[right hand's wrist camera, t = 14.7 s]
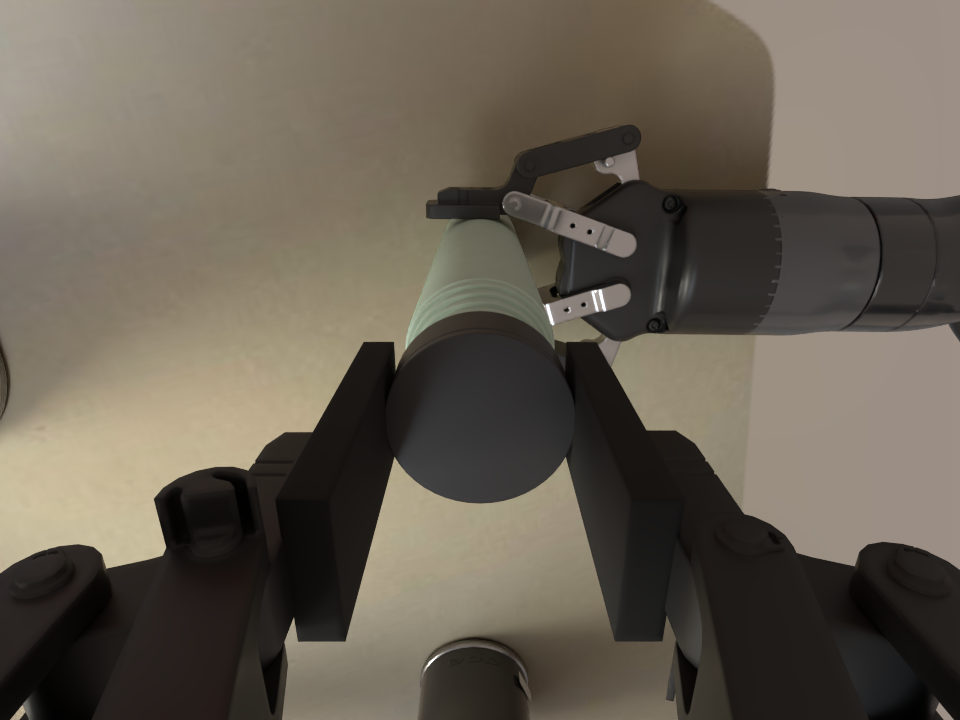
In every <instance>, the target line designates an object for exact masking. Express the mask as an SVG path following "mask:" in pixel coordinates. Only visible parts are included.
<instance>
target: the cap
mask: <svg viewBox="0 0 960 720" xmlns="http://www.w3.org/2000/svg"><path fill="white" fill-rule="evenodd" d="M385 412H386V427H387V439H388V443H389V446H390V448H391V450H392V452H393V455H394V456H395V458H396V459H397V461H398V463H399V464H400V465H401V467H402V468H403V469H404V470H405V471H406V473H407V474H408V475H409V476H411V477H412V478H413V479H414V480H415V481H416V482H418V483H419V484H420V485H422V486H423V487H424V488H426V489H428V490H430V491H432V492H434V493H435V494H438V495H440V496H443V497H445V498H449V499H452V500H456V501H461V502H467V503H493V502H499V501H504V500H508V499H512V498H515V497H517V496H520V495H522V494H525V493H527V492H529V491H530V490H532V489H534V488H536V487H537V486H539V485H540V484H541V483H543V482H544V481H545V480H547V479H548V478H549V477H550V476H551V475H552V474H553V473H554V472H555V471H556V469H557V468H558V467H559V466H560V465H561V463H562V462H563V460H564V458H565V457H566V455H567V453H568V451H569V449H570V447H571V444H572V441H573V432H574V418H575V401H574V398H573V395H572V391H571V388H570V386H569V383H568V380H567V377H566V374H565V372H564V369H563V366H562V363H561V361H560V359H559V357H558V355H557V353H556V351H555V350H554V348H553V347H552V345H551V344H550V343H549V342H548V341H547V339H546V338H545V337H544V336H543V335H542V334H540V333H539V332H538V331H537V330H536V329H535V328H533V327H531V326H530V325H528V324H527V323H525V322H523V321H521V320H519V319H517V318H515V317H512V316H509V315H506V314H502V313H496V312H489V311H471V312H464V313H459V314H455V315H452V316H449V317H446V318H443V319H441V320H439V321H437V322H435V323H433V324H432V325H430V326H429V327H427V328H426V329H424V330H423V331H422V332H421V333H420V334H419V335H418V336H416V338H415V339H414V340H413V341H412V342H411V343H410V344H409V346H408V347H407V349H406V350H405V352H404V353H403V355H402V358H401V360H400V362H399V364H398V367H397V370H396V372H395V375H394V378H393V381H392V384H391V386H390V389H389V392H388V396H387V399H386V404H385Z"/></svg>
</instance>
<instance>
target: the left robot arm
mask: <svg viewBox="0 0 960 720" xmlns="http://www.w3.org/2000/svg"><path fill="white" fill-rule="evenodd" d="M640 141H641V134H640V131H639V129H638V128H637V127H635V126H633V125H620V126H613V127H610V128H606V129H602V130H599V131H595V132H592V133H588V134H584V135H581V136H577V137H573V138H570V139H566V140H563V141H559V142H555V143H552V144H548V145H544V146H541V147H537V148H534V149H530V150H526V151H523V152H521V153H519V154H518V155H517V156H516V158H515V161H514V165H513V168H512V170H511V173H510V175H509V178H508V180H507V181H506V182H505V184H503V185H502V186H500V187H495V188H488V187H448V188H445V189H443V190H440V191H439V192H438V200H429V201H427V203H426V218H430V219H486V220H500V215H510V216H512V217H515V218H518V219H521V220H523V221H526V222H529V223H532V224H535V225H537V226H540V227H542V228H544V229H546V230H549V231H551V232H554V233H556V234H559V236H558V246H559V251H560V256H561V259H560V262H559V265H558V268H557V271H556V283H554V284H550V285H547V286H544V287H541V288H538V292H539V295H540V297H541V300H542V303H543V305H544V308H545V311H546V313H547V316H548V319H549V321H550V324H551V326H552V325H556V324H559V323H563V322H566V321H569V320H573V319H576V318H579V317H580V318H582V319H583V320H584V321H586V322H587V323H588V324H590V325H591V326H592V327H594V328H595V329H596V330H598V331H599V332H600V333H602V334H601V336H600V337H598V338H596V339H593V340H590V339H584V340H581V341H580V342H597V344H598V345H599V347H600V349H601V351H602V353H603V354H604V356H605V358H606V360H607V361H608V363H609V365H610V367H611V366H612V363H613V361H614V358H615V356H616V354H617V351H618V349H619V346H620V344H621V342H622V341H627V340H630V339H632V338H634V337H636V336H638V335H641V334H645V333H657V334H713V335H796V334H806V333H813V332H823V331H853V332H895V331H910V330H919V329H925V328H931V327H936V326H941V325H946V324H949V326H950V328H951V330H952V331H953V332H954V334H955V335H956V337H957V338H958V340H959V341H960V195H959V196H953V197H947V198H940V199H914V198H891V197H840V196H832V195H826V194H820V193H814V192H803V191H781V190H776V189H761V190H759V191H749V190H673V189H658V188H655V187H654V186H652V185H650V184H649V183H647V182H645V181H643V180H640V176H639V169H638V163H637V156H636V148H637V147H638V146H639V144H640ZM587 163H591V165H592V167H593V169H594V170H595V171H597V172H599V173H602V174H613V175H614V176H615V177H616V179H617V181H618V183H616V184H615V185H613V186H612V187H611V188H609V189H608V190H606V191H605V192H603V193H602V194H601V195H599V196H598V197H596V198H595V199H593V200H592V201H590V202H589V203H588V204H586V205H585V206H583V207H582V208H580V209H579V210H577V209H574V208H572V207H569V206H566V205H563V204H561V203H558V202H555V201H552V200H550V199H546V198H543V197H540V196H537V195H535V194H532V193H531V191H532V189H533V186H534V184H535V181H536V179H537V177H539V176H543V175H546V174H550V173H554V172H558V171H561V170H565V169H569V168H572V167H576V166H580V165H583V164H587ZM558 293H559V295H557V294H558ZM565 308H567V309H565ZM554 343H555V351H556V353H557V355H558V357H559V359H560V361H561V363H562V366H563V369H564V372H565V358H566V343H564V342H561V341H557V340H554ZM420 686H421V693H420V702H419V711H418V719H417V720H530V712H529V700H528V698H529V699H530V701H531V692H530V690H529V688H528V676H527V670H526V667H525V665H524V663H523V661H522V660H521V659H520V658H519V656H518V655H517V654H515V653H514V652H513V651H512V650H510V649H509V648H507V647H505V646H503V645H501V644H498V643H495V642H491V641H486V640H462V641H457V642H453V643H451V644H448V645H446V646H444V647H442V648H440V649H438V650H437V651H435V652H434V653H433V654H432V655H431V656H430V657H429V658H428V659H427V661H426V662H425V664H424V666H423V669H422V673H421V682H420ZM531 703H532V701H531Z"/></svg>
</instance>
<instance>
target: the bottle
mask: <svg viewBox="0 0 960 720" xmlns="http://www.w3.org/2000/svg"><path fill="white" fill-rule="evenodd" d="M471 311H489V312H496V313H502V314H506V315H509V316H512V317H515V318H517V319H519V320H521V321H523V322H525V323H527V324H528V325H530V326H531V327H533V328H535V329H536V330H537V331H538V332H539V333H540V334H542V335H543V336H544V337H545V338H546V339H547V341H548V342H549V343H550V344H551V345H552V347H553V348H554V350H555V343H554V335H553V330H552V327H551V324H550V321H549V319H548V316H547V313H546V311H545V308H544V305H543V303H542V300H541V297H540V295H539V292H538V289H537V287H536V284H535V281H534V279H533V276H532V273H531V271H530V268H529V265H528V263H527V260H526V257H525V255H524V252H523V249H522V247H521V244H520V241H519V239H518V236H517V233H516V231H515V228H514V225H513V223H512V221H511V220H510V218H509V217H508V216H507V215H500V220H486V219H450V220H449V222H448V224H447V226H446V228H445V231H444V234H443V236H442V239H441V242H440V244H439V247H438V250H437V252H436V255H435V258H434V260H433V263H432V266H431V268H430V271H429V274H428V276H427V279H426V282H425V284H424V287H423V290H422V293H421V295H420V298H419V301H418V303H417V306H416V309H415V311H414V314H413V317H412V319H411V322H410V325H409V328H408V332H407V336H406V349H407V347H408V346H409V344H410V343H411V342H412V341H413V340H414V339H415V338H416V336H418V335H419V334H420V333H421V332H422V331H423V330H424V329H426V328H427V327H429V326H430V325H432V324H433V323H435V322H437V321H439V320H441V319H443V318H446V317H449V316H452V315H455V314H459V313H464V312H471Z"/></svg>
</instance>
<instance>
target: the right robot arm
mask: <svg viewBox="0 0 960 720" xmlns="http://www.w3.org/2000/svg"><path fill="white" fill-rule="evenodd" d="M395 372H396V368H395V352H394V342H364V343H363V344H362V346H361V348H360V350H359V351H358V353H357V355H356V357H355V359H354V360H353V362H352V364H351V366H350V367H349V369H348V371H347V373H346V374H345V376H344V378H343V380H342V382H341V383H340V385H339V387H338V389H337V390H336V392H335V394H334V396H333V398H332V399H331V401H330V403H329V405H328V406H327V408H326V410H325V412H324V414H323V415H322V417H321V419H320V421H319V422H318V424H317V426H316V428H315V429H314V431H313V432H285V433H283V434H282V435H280V436H279V437H278V438H276V439H275V440H273V441H272V442H270V443H269V444H267V445H266V446H265V447H264V449H263V450H262V452H261V453H260V455H259V456H258V458H257V459H256V460H255V464H253V465H252V466H251V468H250V469H249V471H247V470H244V469H240V468H236V467H214V468H209V469H204V470H199V471H195V472H193V473H190V474H188V475H185V476H183V477H180V478H178V479H176V480H175V481H173V482H172V483H170V484H169V485H167V486H165V487H164V488H163V489H162V490H161V491H160V492H159V493H158V495H157V496H156V497H155V498H154V502H155V505H156V509H157V513H158V517H159V521H160V525H161V528H162V532H163V536H164V540H165V544H166V550H165V552H164V554H163V556H160V557H157V558H153V559H150V560H145V561H140V562H136V563H131V564H126V565H122V566H117V567H112V568H108V569H106V566H105V563H104V560H103V557H102V554H101V553H100V552H99V551H97V550H96V549H95V548H94V547H90V546H85V545H79V544H77V545H68V546H58V547H55V548H51V549H48V550H43V551H41V552H38V553H35V554H33V555H31V556H29V557H27V558H25V559H23V560H21V561H19V562H17V563H15V564H13V565H12V566H10V567H9V568H7V569H6V570H5V571H3V572H2V573H0V720H10V719H11V718H12V717H13V715H14V714H15V713H16V712H17V711H18V709H19V708H20V707H21V706H22V705H23V707H24V709H25V712H26V713H25V714H24V715H23V716H22V717H21V719H20V720H282V714H283V705H284V696H285V686H286V677H287V668H288V662H287V655H286V649H285V643H284V641H285V638H286V636H287V633H288V631H289V628H290V625H291V623H292V620H293V618H294V619H295V625H296V632H297V638H298V641H346V637H347V633H348V629H349V626H350V622H351V618H352V614H353V611H354V607H355V603H356V599H357V596H358V592H359V588H360V584H361V580H362V577H363V573H364V569H365V565H366V562H367V558H368V554H369V550H370V547H371V543H372V539H373V535H374V532H375V528H376V524H377V520H378V517H379V513H380V509H381V505H382V502H383V498H384V494H385V490H386V487H387V483H388V479H389V475H390V472H391V468H392V464H393V460H394V457H395V456H394V455H393V452H392V450H391V448H390V446H389V443H388V439H387V427H386V412H385V404H386V399H387V396H388V392H389V389H390V386H391V384H392V381H393V378H394V375H395ZM565 374H566V377H567V380H568V383H569V386H570V388H571V391H572V395H573V398H574V401H575V418H574V432H573V441H572V444H571V447H570V449H569V451H568V453H567V455H566V459H567V463H568V467H569V470H570V474H571V478H572V482H573V485H574V489H575V493H576V497H577V500H578V504H579V508H580V512H581V515H582V519H583V523H584V527H585V530H586V534H587V538H588V542H589V545H590V549H591V553H592V557H593V560H594V564H595V568H596V572H597V575H598V579H599V583H600V587H601V590H602V594H603V598H604V602H605V605H606V609H607V613H608V617H609V620H610V624H611V628H612V632H613V635H614V639H615V641H662V640H663V634H664V628H665V622H666V616H668V619H669V622H670V624H671V627H672V629H673V632H674V634H675V637H676V643H675V649H674V655H673V660H672V666H671V672H670V677H669V683H668V689H667V696H666V700H670V701H674V696H675V694H676V703H677V712H678V720H943V719H942V717H941V716H940V715H939V714H938V712H937V711H936V708H937V706H938V704H939V702H940V703H941V705H942V706H943V707H944V708H945V709H946V711H947V712H948V713H949V714H950V715H951V717H952V718H953V719H954V720H960V570H959V569H958V568H956V567H955V566H953V565H952V564H951V563H949V562H948V561H946V560H944V559H941V558H939V557H937V556H935V555H933V554H931V553H929V552H928V551H925V550H922V549H919V548H914V547H913V546H908V545H904V544H898V543H888V542H880V543H875V544H868V545H867V546H866V547H865V548H863V549H862V550H861V551H860V552H859V555H858V558H857V562H856V565H855V566H850V565H845V564H841V563H836V562H831V561H827V560H822V559H817V558H812V557H809V556H805V555H802V554H798V553H796V551H795V549H794V547H793V545H792V544H791V543H790V541H789V540H788V538H787V537H786V536H785V535H784V534H783V533H782V532H780V531H779V530H778V529H776V528H775V527H773V526H772V525H771V524H769V523H767V522H764V521H762V520H760V519H758V518H755V517H753V516H749V515H745V514H744V513H743V512H742V511H741V509H740V508H739V506H738V505H737V503H736V502H735V500H734V499H733V498H732V496H731V495H730V493H729V492H728V490H727V489H726V488H725V486H724V485H723V483H722V482H721V480H720V479H719V478H718V476H717V475H716V474H714V470H713V469H712V468H711V466H710V465H709V463H708V462H706V461H705V457H704V456H703V455H702V453H701V452H700V450H699V449H698V447H697V446H696V445H695V443H693V442H692V441H690V440H689V439H687V438H686V437H684V436H683V435H681V434H680V433H678V432H677V431H646V429H645V427H644V425H643V423H642V422H641V420H640V418H639V416H638V415H637V413H636V411H635V409H634V408H633V406H632V404H631V402H630V400H629V399H628V397H627V395H626V393H625V392H624V390H623V388H622V386H621V384H620V383H619V381H618V379H617V377H616V376H615V374H614V372H613V370H612V368H611V367H610V365H609V363H608V361H607V360H606V358H605V356H604V354H603V353H602V351H601V349H600V347H599V345H598V344H597V342H566V358H565ZM6 397H7V377H6V370H5V366H4V362H3V359H2V356H1V353H0V417H1V415H2V412H3V410H4V407H5V403H6Z"/></svg>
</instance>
